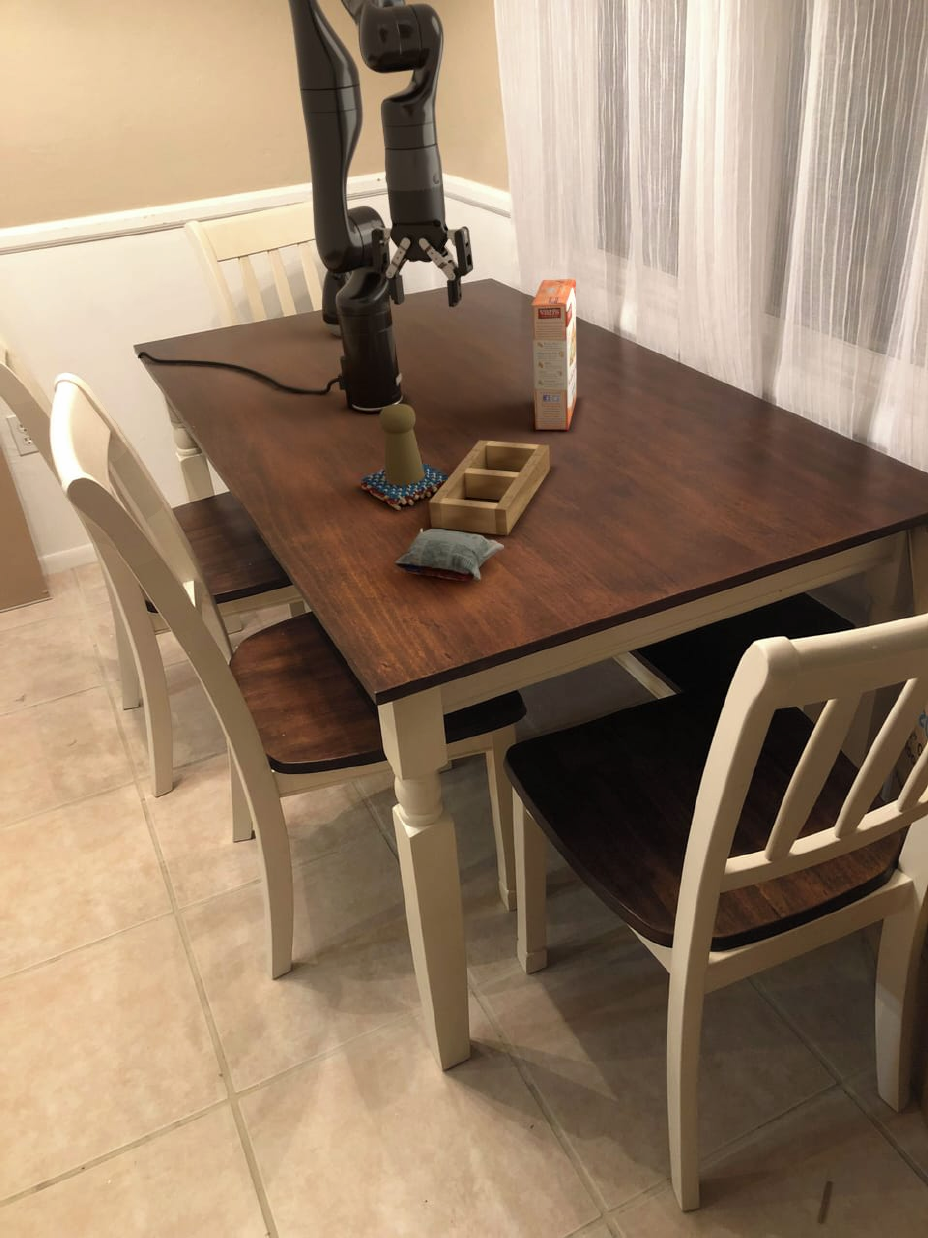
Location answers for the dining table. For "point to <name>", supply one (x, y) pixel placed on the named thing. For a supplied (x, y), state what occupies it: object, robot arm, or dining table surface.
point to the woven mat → (404, 487)
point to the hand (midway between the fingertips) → (426, 304)
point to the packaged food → (448, 554)
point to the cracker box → (554, 353)
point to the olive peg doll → (401, 446)
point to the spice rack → (490, 487)
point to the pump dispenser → (332, 299)
